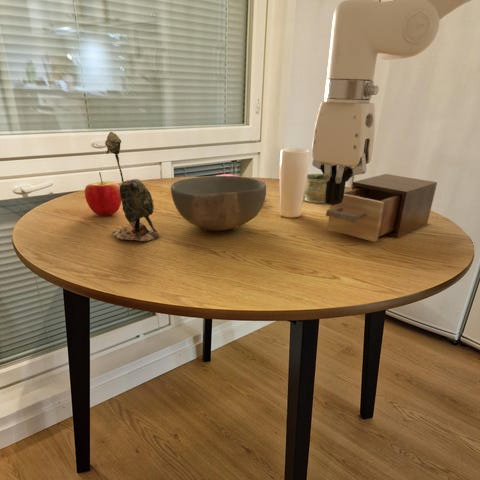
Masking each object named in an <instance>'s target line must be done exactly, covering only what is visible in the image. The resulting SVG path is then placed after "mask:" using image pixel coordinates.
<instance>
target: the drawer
mask: <svg viewBox="0 0 480 480" xmlns="http://www.w3.org/2000/svg"><path fill="white" fill-rule="evenodd" d="M358 196H360V197H358ZM401 200H402V195H399V194H394V193H388V192H383V191H378V190H373V189H367V188H362V187H360V188H356V189H352V188H351V189H349V190H344V197H343V199H342V202H341V203H339V204H336V205H330V204H329V208H328V209H327V210H326V211H325V216H326V217H328V219H327V230H329V231H333V232H337V233H340V234H344V235H347V236H351V237H355V238H359V239H362V240H366V241H369V242H373V243H375V242H377V241H378V240H379V237H382V236H384V235H385V234H386V233H389V232H391V231H393V230H395V229H396V224H397V220H398V215H399V210H400V205H401Z"/></svg>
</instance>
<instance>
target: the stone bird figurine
mask: <svg viewBox="0 0 480 480" xmlns="http://www.w3.org/2000/svg"><path fill="white" fill-rule="evenodd" d="M104 142H105V144H104V145H105V147H106V148H107V150H106V155H108V154H109V153H112V154H114V155H115V156H114V157H115V160H116V162H117V166H118V169H119V174H120V178H121V182H122V183H120V185H119V190H120V196H121V205H122V211H123V212H124V217H125V218H126V220H127V221H128V223H125V224H124V225H121V228H120V229H118V230H115V231H112V232H111V234H112V235H113V236H114V237H117V238H118V239H120V240H121V241H123V240H128V241H140V242H150V240H151V241H152V240H156V239H157V238H158V237H159V232H158V230H157V229H156V228H155V227H154V225H153V223H152V221H151V218H150V216H151V215H153V213H154V209H155V205H154V199H153V198H152V194H151V192H150V191H149V189H148V187H147V186H146V185H145V184H144V182H142V180H140V179H138V178H133V179H127V180H124V176H123V172H122V168H121V164H120V157H119V154H120V152H121V145H122V139H121V138H120V137H119V136H118V135H117V134H116V133H115V132H114V131H110V132H109V133H108V135H107V137H106V140H105V141H104ZM142 218H144V219H145V220H146V222H147V223H148V226H150V229H148V228H147V226H146V225H145V224H144V223H142V222H141V219H142Z"/></svg>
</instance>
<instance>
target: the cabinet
mask: <svg viewBox="0 0 480 480" xmlns="http://www.w3.org/2000/svg"><path fill="white" fill-rule="evenodd" d="M437 185H438V182H437V181H432V180H426V179H419V178H414V177H407V176H402V175H395V174H389V173H383V174H381V175H376V176H371V177H367V178H364V179H360V180H355V181H352V183H351V190H352V189H356V188H360V187H362V188H367V189H373V190H378V191H383V192H388V193H394V194H399V195H402V200H401V205H400V210H399V215H398V220H397V224H396V229H395V230H393V231H391V232H389V233H386V234H384V235H385V236H390V237H393V238H397V239H398V238H400V237H402V236H404V235H407V234H408V233H411V232H414V231H415V230H418V229H420V228H423V227H425V226H427V225H428V223H429V218H430V214H431V210H432V207H433V202H434V199H435V198H434V197H435V192H436V190H437Z"/></svg>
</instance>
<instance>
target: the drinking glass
mask: <svg viewBox="0 0 480 480" xmlns="http://www.w3.org/2000/svg"><path fill="white" fill-rule="evenodd" d="M310 155H311V150H310V149H306V148H300V147H288V148H287V147H285V148H281V149H280V156H279V170H278V171H279V215H280V216H281V217H284V218H290V219H291V218H299V217H300V216H302V213H303V204H304V199H305V195H304V192H305V187H306V181H307V175H308V174H309V169H310V168H309V167H310V157H311V156H310Z"/></svg>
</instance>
